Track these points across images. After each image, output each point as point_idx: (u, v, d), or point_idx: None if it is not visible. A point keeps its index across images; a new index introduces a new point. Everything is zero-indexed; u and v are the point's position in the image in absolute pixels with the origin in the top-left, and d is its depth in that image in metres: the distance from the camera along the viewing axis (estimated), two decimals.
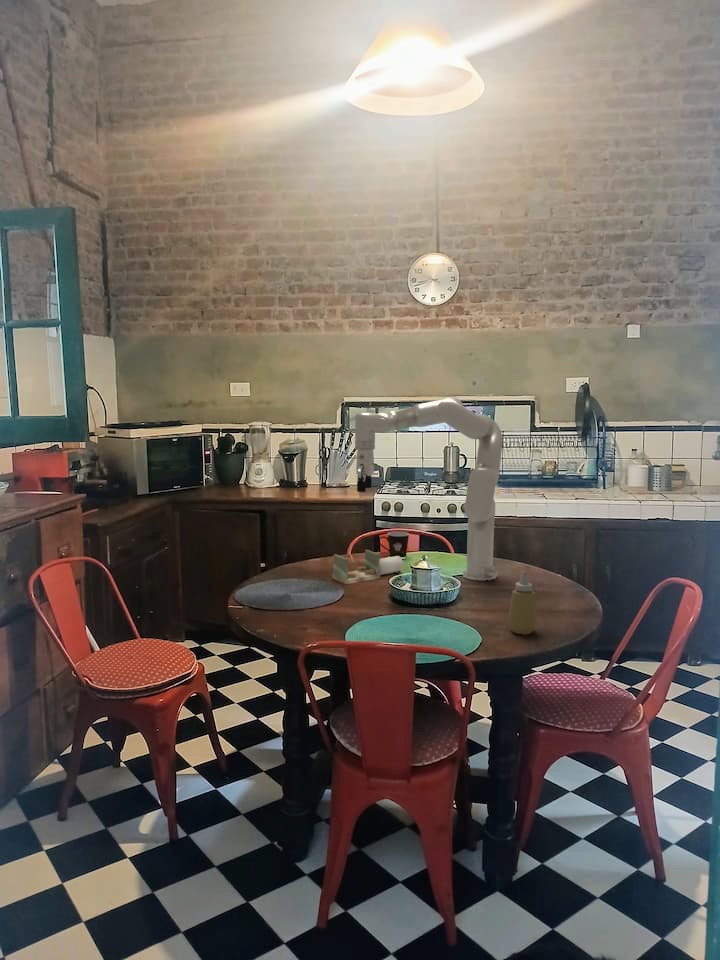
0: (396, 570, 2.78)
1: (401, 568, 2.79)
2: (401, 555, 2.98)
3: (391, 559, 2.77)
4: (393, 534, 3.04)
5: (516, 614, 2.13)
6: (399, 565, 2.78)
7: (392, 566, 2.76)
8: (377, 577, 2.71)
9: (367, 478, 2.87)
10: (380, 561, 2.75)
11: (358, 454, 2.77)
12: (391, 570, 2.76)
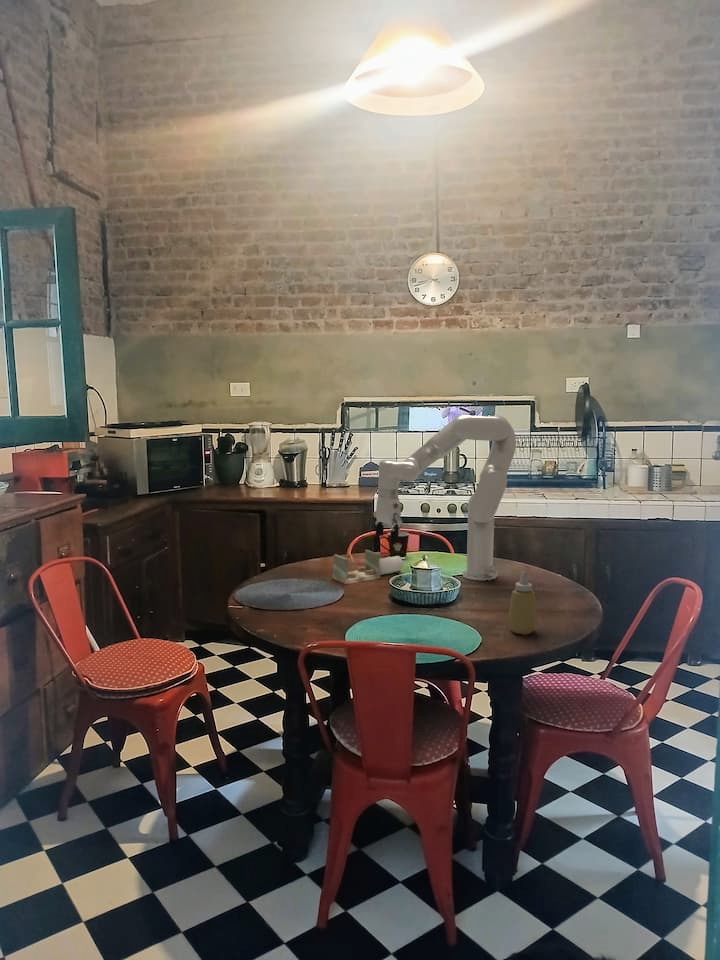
0: (396, 570, 2.78)
1: (401, 568, 2.79)
2: (401, 555, 2.98)
3: (391, 559, 2.77)
4: None
5: (516, 614, 2.13)
6: (399, 565, 2.78)
7: (392, 566, 2.76)
8: (377, 577, 2.71)
9: (380, 526, 2.80)
10: (380, 561, 2.75)
11: (391, 503, 2.71)
12: (391, 570, 2.76)
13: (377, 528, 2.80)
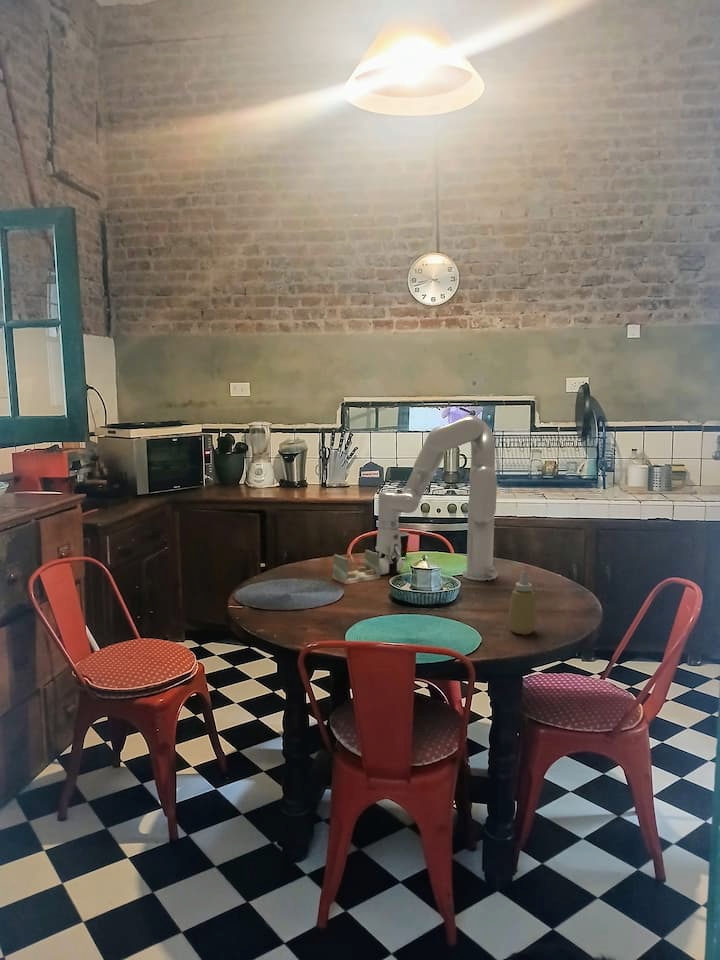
0: None
1: (401, 568, 2.79)
2: (401, 555, 2.98)
3: None
4: None
5: (516, 614, 2.13)
6: (399, 565, 2.78)
7: None
8: (377, 577, 2.71)
9: None
10: (380, 561, 2.75)
11: (392, 535, 2.72)
12: None
13: None
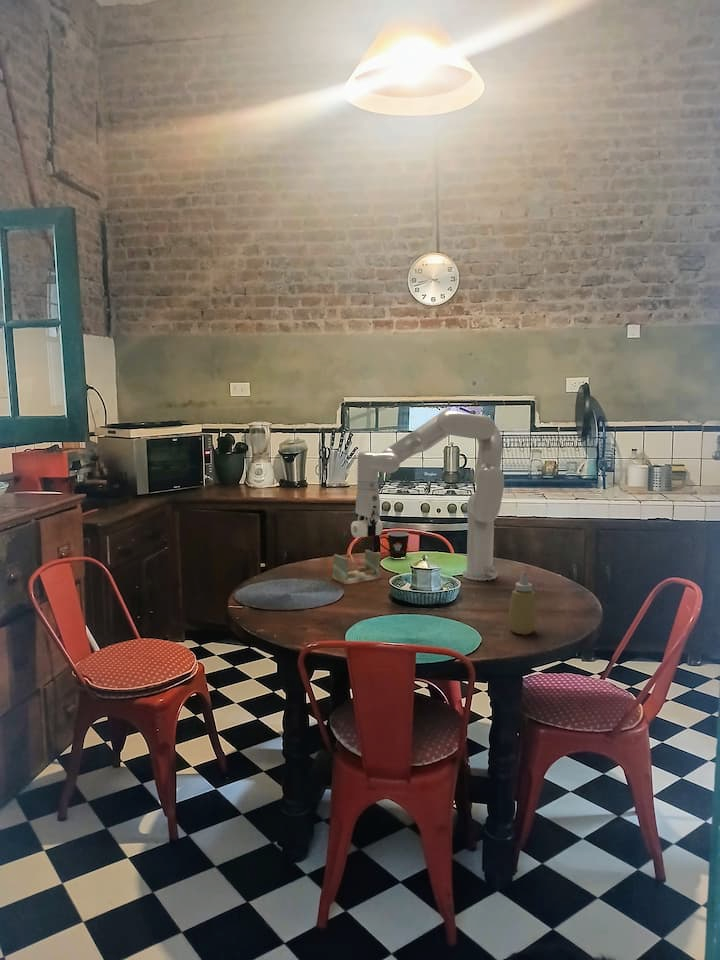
0: None
1: (380, 531, 2.72)
2: (401, 555, 2.98)
3: None
4: (393, 534, 3.04)
5: (516, 614, 2.13)
6: (378, 528, 2.71)
7: None
8: (377, 577, 2.71)
9: None
10: (358, 523, 2.68)
11: (370, 496, 2.65)
12: None
13: None
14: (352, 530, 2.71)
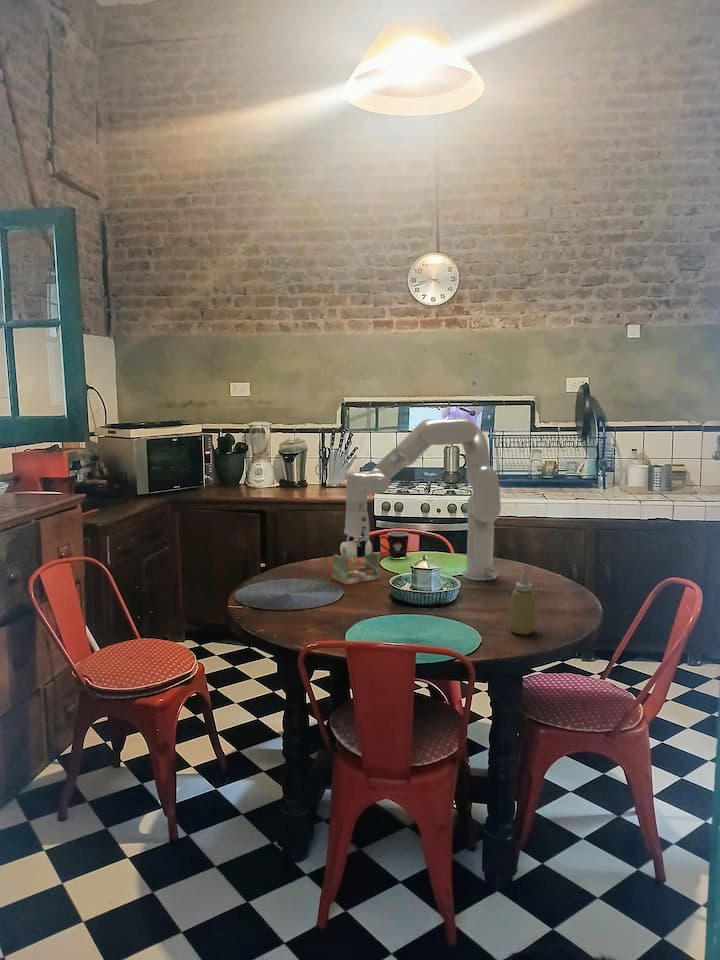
0: None
1: (370, 551, 2.70)
2: (401, 555, 2.98)
3: None
4: (393, 534, 3.04)
5: (516, 614, 2.13)
6: (367, 548, 2.69)
7: None
8: (377, 577, 2.71)
9: None
10: (347, 544, 2.66)
11: (359, 517, 2.64)
12: None
13: None
14: (341, 551, 2.69)
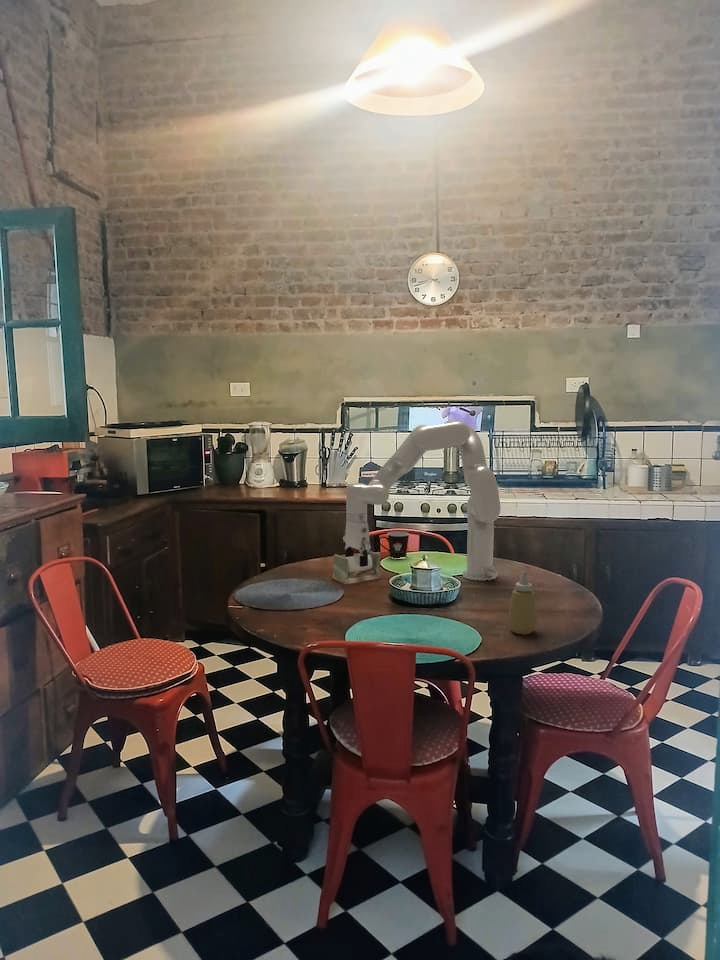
0: (365, 568, 2.70)
1: (370, 566, 2.71)
2: (401, 555, 2.98)
3: None
4: (393, 534, 3.04)
5: (516, 614, 2.13)
6: (368, 563, 2.70)
7: None
8: (377, 577, 2.71)
9: (350, 550, 2.74)
10: (348, 559, 2.67)
11: (360, 528, 2.64)
12: (360, 568, 2.69)
13: (347, 553, 2.73)
14: None
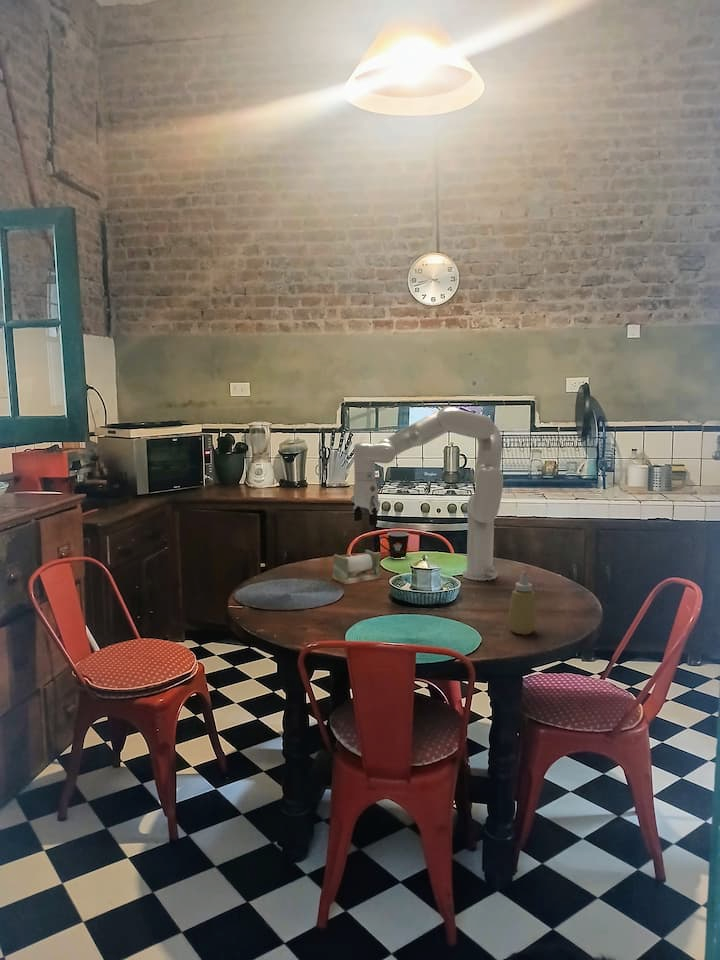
0: (365, 568, 2.70)
1: (370, 566, 2.71)
2: (401, 555, 2.98)
3: (360, 557, 2.70)
4: (393, 534, 3.04)
5: (516, 614, 2.13)
6: (368, 563, 2.70)
7: (360, 564, 2.68)
8: (377, 577, 2.71)
9: (358, 510, 2.76)
10: (348, 559, 2.67)
11: (368, 486, 2.66)
12: (360, 568, 2.69)
13: (355, 513, 2.75)
14: None
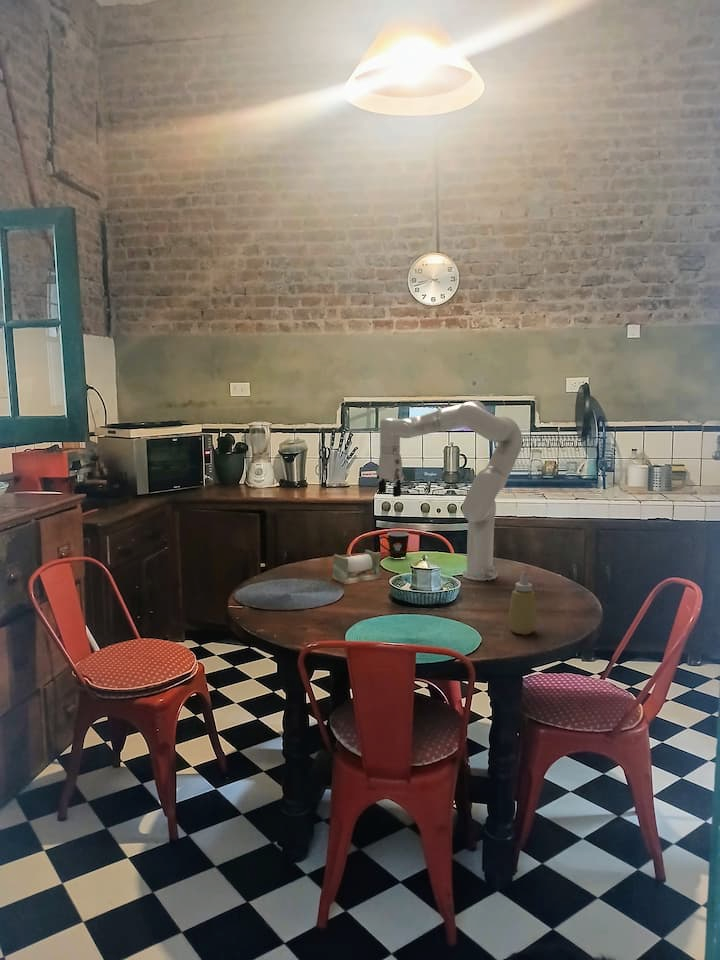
0: (365, 568, 2.70)
1: (370, 566, 2.71)
2: (401, 555, 2.98)
3: (360, 557, 2.70)
4: (393, 534, 3.04)
5: (516, 614, 2.13)
6: (368, 563, 2.70)
7: (360, 564, 2.68)
8: (377, 577, 2.71)
9: (383, 483, 2.88)
10: (348, 559, 2.67)
11: (393, 459, 2.78)
12: (360, 568, 2.69)
13: (380, 485, 2.88)
14: None
